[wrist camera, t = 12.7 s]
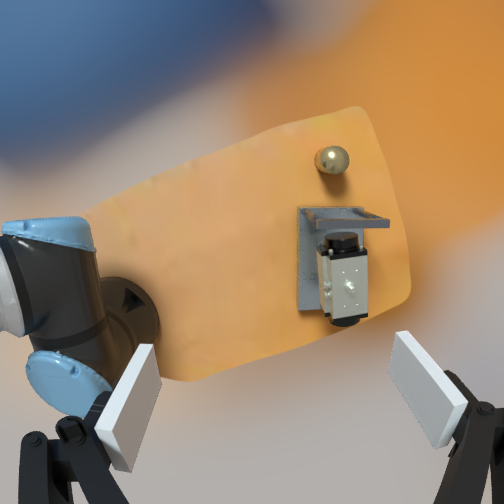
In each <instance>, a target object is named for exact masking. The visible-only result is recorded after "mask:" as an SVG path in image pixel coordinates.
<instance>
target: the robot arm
mask: <svg viewBox="0 0 504 504" xmlns="http://www.w3.org/2000/svg"><path fill="white" fill-rule="evenodd" d="M1 232H2V234H3V236H0V332H1V331H7V332H9V333H11V334H13V335H15V336H17V337H19V338H20V337H23V336H25V335H27V334H28V335H29V338H30V340H31V343H32V346H33V349H34V352H33V353H32V354H31V355H30V356H29V357H28V361H27V364H26V374H27V378H28V380H29V382H30V384H31V386H32V387H33V389H34V390H35V392H36V393H37V394H38V395H39V396H40V397H41V398H42V399H43V400H44V401H45V402H46V403H48V404H49V405H51V406H52V407H54V408H55V409H56V410H58V411H60V412H62V413H64V414H67V415H69V416H66V417H64V418H62V419H60V420H59V421H58V422H57V424H56V427H55V428H56V432H57V434H58V436H59V438H60V439H53V440H48V438H47V437H46V435H45V434H44V433H42V432H40V431H33V432H30V433H28V434H26V435H25V436H24V437H23V439H22V442H21V451H20V465H19V490H18V491H19V492H18V504H74V502H73V495H72V487H71V482H79V484H80V486H81V488H82V491H83V493H84V495H85V497H86V499H87V501H88V503H89V504H129V503H128V501H127V499H126V498H125V496H124V495H123V493H122V491H121V490H120V488H119V486H118V485H117V483H116V482H115V480H114V478H113V476H112V475H111V473H110V471H109V466H110V464H111V463H112V465H113V467H114V469H115V470H119V471H124V472H130V473H131V472H132V469H133V466H134V463H135V460H136V457H137V454H138V451H139V448H140V445H141V442H142V439H143V437H144V433H145V431H146V428H147V425H148V422H149V419H150V416H151V413H152V411H153V408H154V405H155V402H156V399H157V397H158V394H159V391H160V388H161V385H162V383H161V379H160V374H159V370H158V365H157V360H156V356H155V351H154V346H153V342H154V340H155V338H156V336H157V333H158V329H159V318H158V313H157V310H156V307H155V305H154V303H153V302H152V300H151V298H150V297H149V296H148V294H147V293H146V292H145V291H144V290H143V289H142V288H140V287H139V286H138V285H136V284H135V283H133V282H131V281H129V280H127V279H124V278H120V277H105V278H102V279H100V276H99V271H98V265H97V260H96V254H95V253H96V252H97V251H96V248H94V244H93V239H92V234H91V228H90V225H89V223H88V222H87V221H86V220H85V219H84V218H81V217H75V216H73V217H52V218H38V219H26V220H16V221H7V222H4V223H3V225H2V231H1ZM388 373H389V375H390V377H391V378H392V380H393V382H394V383H395V385H396V386H397V388H398V390H399V391H400V393H401V394H402V396H403V398H404V399H405V401H406V403H407V404H408V406H409V408H410V409H411V411H412V413H413V414H414V416H415V417H416V419H417V421H418V423H419V424H420V426H421V428H422V429H423V431H424V433H425V434H426V436H427V437H428V439H429V441H430V443H431V445H432V446H433V448H434V449H438V448H441V447H444V446H447V445H448V444H449V442H450V440H451V438H452V437H453V438H454V440H455V441H456V442H455V444H454V446H453V448H452V450H451V452H450V453H449V455H448V457H450V459H449V462H448V465H447V468H446V471H445V474H444V477H443V480H442V482H441V485H440V488H439V491H438V493H437V496H436V498H435V501H434V503H433V504H481V500H482V496H483V492H484V488H485V484H486V479H487V474H488V469H489V464H490V469H491V485H492V504H504V408H495V407H494V406H493V405H492V404H490V403H488V402H483V401H481V402H479V401H478V400H477V399H476V397H475V396H474V395H473V394H472V393H471V392H470V390H469V389H468V388H467V387H466V386H465V385H464V383H462V382H461V380H460V379H459V378H458V377H457V376H456V374H454V373H452V372H450V371H449V370H446V371H442V370H441V369H440V367H439V366H438V365H437V364H436V363H435V362H434V360H433V359H432V358H431V357H430V356H429V355H428V353H426V351H425V350H424V349H423V348H422V347H421V345H420V344H419V343H418V342H417V341H416V340H415V339H414V338H413V336H412V335H411V334H410V333H409V332H408V331H401V332H396V333H395V338H394V344H393V350H392V354H391V359H390V364H389V369H388ZM82 418H84V420H82Z"/></svg>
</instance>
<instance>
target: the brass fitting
mask: <svg viewBox="0 0 504 504" xmlns="http://www.w3.org/2000/svg"><path fill="white" fill-rule="evenodd" d="M315 165H316V167H317V169H318V170H319V171H321V172H323V173H327V174H340V173H343V172H344V171H345V170H346V169H347V168H348V165H349V156H348V154H347V152H346V151H345V150H344V149H343V148H341V147H339V146H331V147H327V148H323V149H321V150H319V151H318V152H317V153H316V155H315Z"/></svg>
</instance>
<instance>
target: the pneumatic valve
mask: <svg viewBox="0 0 504 504" xmlns="http://www.w3.org/2000/svg"><path fill="white" fill-rule="evenodd" d="M316 251H317V264H318V278H319V293H320V308H321V310H322V312H323V314H324V316H325V317H329V322H330V323H331V324H333V325H335V326H339V327H348V326H352V325H355V324H357V323H358V322H359V321H360V318H365V317H368V257H367V250H366V249H365V248H364V247H363V245H359V239H358V234H357V233H354V232H334V233H330V234H327V235H325V236H324V242H322V243H319V246H316Z"/></svg>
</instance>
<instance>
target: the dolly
mask: <svg viewBox="0 0 504 504" xmlns="http://www.w3.org/2000/svg"><path fill="white" fill-rule="evenodd" d="M364 218H365V219H364ZM389 227H390V220H389V219H387V218H381V217H379V216H376V215H374V214H371V213H369V212H366V211H364V208H363V207H360V206H316V207H297V308H298V310H315V309H321V308H320V293H319V278H318V264H317V251H316V246H319V243H322V242H324V236H325V235H327V234H330V233H334V232H354V233H357V234H358V239H359V245H363V228H389Z"/></svg>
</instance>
